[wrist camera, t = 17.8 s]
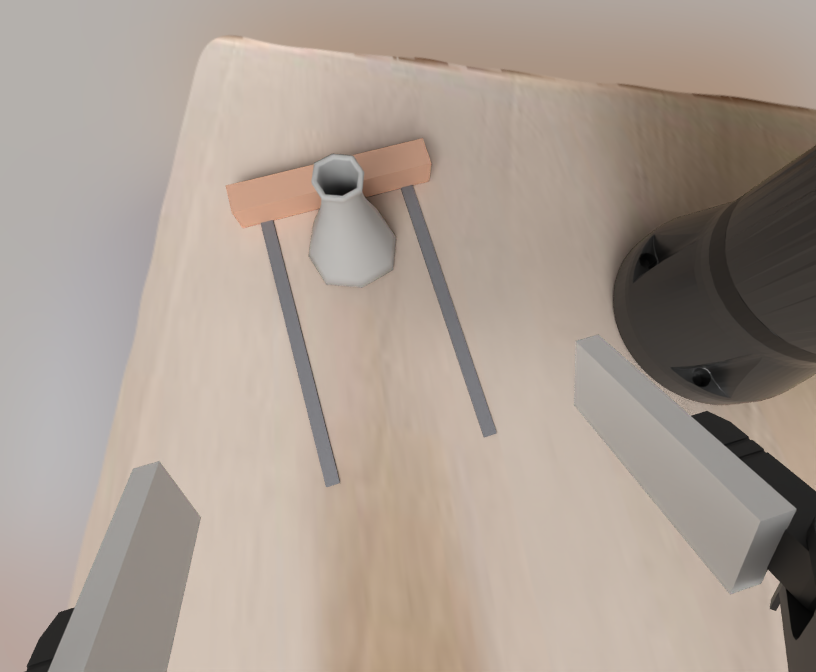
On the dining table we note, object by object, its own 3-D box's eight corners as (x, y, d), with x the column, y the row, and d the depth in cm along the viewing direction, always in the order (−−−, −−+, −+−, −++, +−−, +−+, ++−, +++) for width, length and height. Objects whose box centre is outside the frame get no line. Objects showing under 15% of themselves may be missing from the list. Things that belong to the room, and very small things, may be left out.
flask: (406, 279, 35) (411, 217, 26) (317, 298, 35) (288, 243, 25) (386, 200, 37) (383, 114, 27) (300, 217, 36) (266, 136, 27)
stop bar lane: (420, 157, 38) (422, 138, 36) (515, 427, 33) (524, 426, 30) (236, 202, 36) (225, 185, 34) (305, 493, 31) (298, 498, 29)
